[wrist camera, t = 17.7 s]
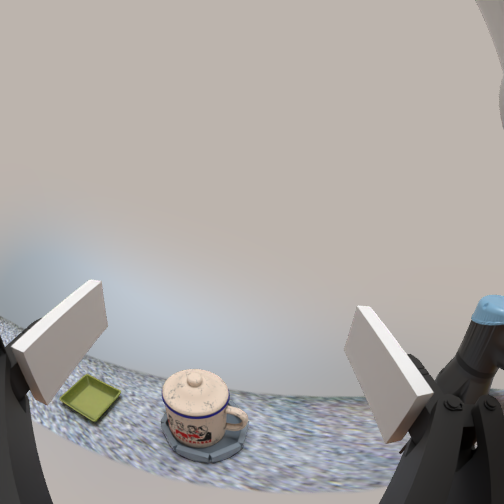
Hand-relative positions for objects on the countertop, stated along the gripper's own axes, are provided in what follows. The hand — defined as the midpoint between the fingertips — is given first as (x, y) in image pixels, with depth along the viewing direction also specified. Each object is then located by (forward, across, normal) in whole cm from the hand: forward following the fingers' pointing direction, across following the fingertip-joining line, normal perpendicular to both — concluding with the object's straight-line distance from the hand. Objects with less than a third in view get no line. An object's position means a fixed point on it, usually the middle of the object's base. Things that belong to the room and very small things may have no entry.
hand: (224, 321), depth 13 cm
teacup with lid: (+14, -3, -29) cm, 33 cm away
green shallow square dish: (+15, -23, -31) cm, 41 cm away
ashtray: (+14, -3, -30) cm, 33 cm away
